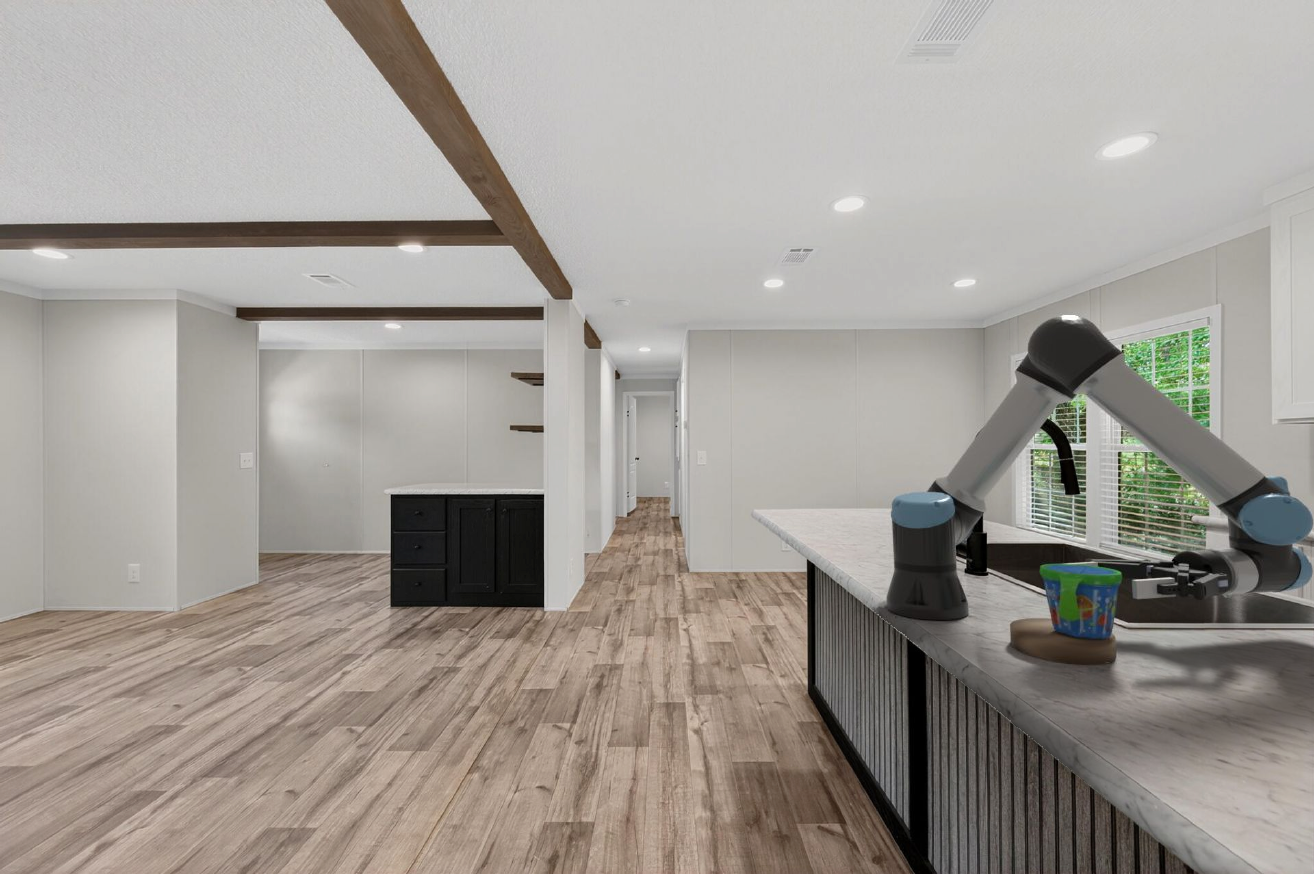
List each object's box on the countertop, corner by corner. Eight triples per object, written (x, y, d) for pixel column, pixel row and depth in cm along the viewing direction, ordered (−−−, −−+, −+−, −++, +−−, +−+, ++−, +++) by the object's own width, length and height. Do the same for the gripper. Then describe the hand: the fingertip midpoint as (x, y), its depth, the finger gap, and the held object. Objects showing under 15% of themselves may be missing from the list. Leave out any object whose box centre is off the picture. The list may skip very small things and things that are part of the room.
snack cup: (1062, 618, 102) (1060, 559, 103) (1139, 632, 94) (1136, 567, 94) (1023, 635, 93) (1021, 569, 93) (1104, 652, 84) (1102, 580, 85)
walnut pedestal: (991, 638, 102) (990, 621, 102) (1064, 632, 104) (1064, 615, 104) (1057, 667, 88) (1056, 647, 88) (1140, 660, 90) (1139, 640, 90)
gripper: (1302, 615, 86) (1173, 625, 84) (1142, 579, 111) (1038, 586, 109) (1298, 563, 87) (1170, 571, 84) (1139, 539, 111) (1036, 545, 109)
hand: (1095, 580), depth 96 cm, fingers open, 13 cm apart
